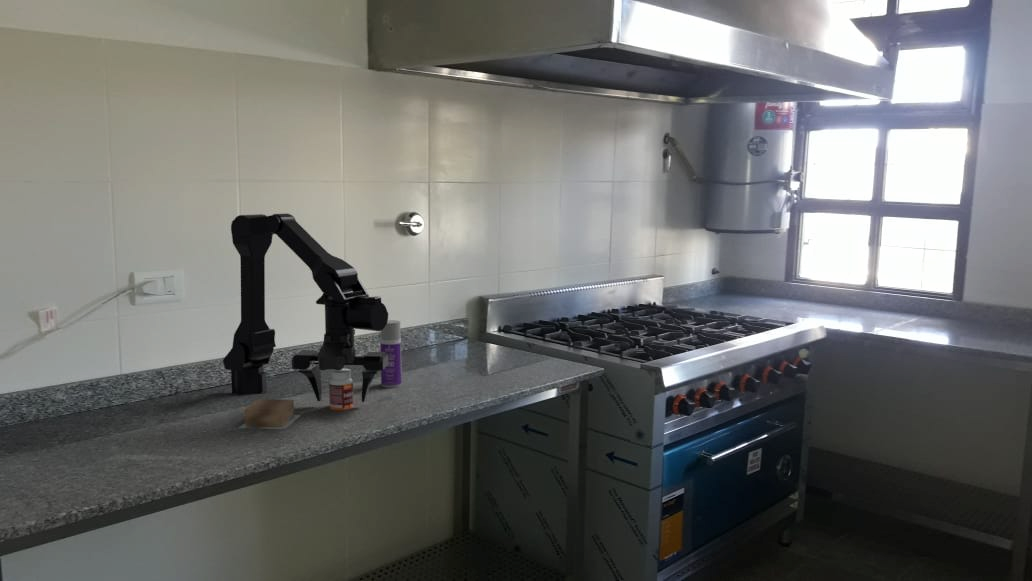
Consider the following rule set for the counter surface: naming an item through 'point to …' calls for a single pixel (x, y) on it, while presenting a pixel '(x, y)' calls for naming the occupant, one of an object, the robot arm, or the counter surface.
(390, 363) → the container
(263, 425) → the walnut block
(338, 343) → the robot arm
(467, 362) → the counter surface
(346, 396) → the pill bottle
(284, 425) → the plate
